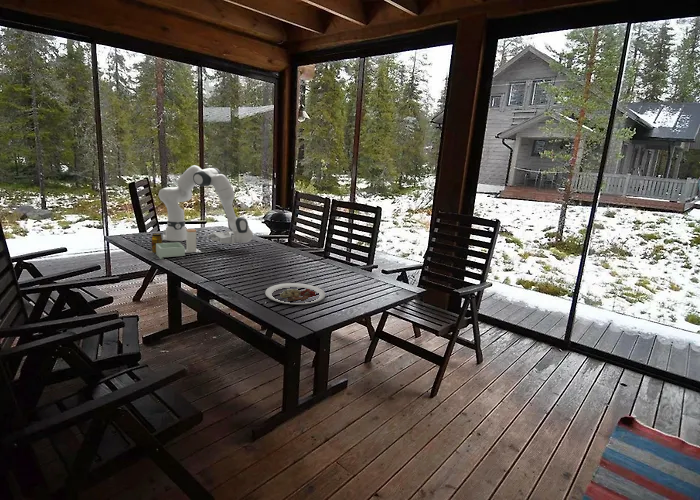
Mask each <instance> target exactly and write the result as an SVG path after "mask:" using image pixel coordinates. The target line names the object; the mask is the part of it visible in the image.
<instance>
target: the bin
mask: <svg viewBox="0 0 700 500" xmlns="http://www.w3.org/2000/svg"><path fill="white" fill-rule="evenodd" d="M185 249H186V247H185V246H184V245H183V244H182V243H181V241H175V242H162V243H156V253H155V255H156V256H157V257H158V258H159V260H164V258H169V257H170V258H171V257H183V256H184V257H185V256H186V253H185Z"/></svg>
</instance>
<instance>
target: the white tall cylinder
mask: <svg viewBox="0 0 700 500" xmlns="http://www.w3.org/2000/svg"><path fill="white" fill-rule="evenodd" d="M185 241H186V242H185V243H186V247H185V249H186V250H187V251H188V252H191V251H196V248H197V230H196V229H195V228H187V229H186V240H185ZM191 253H192V252H191Z"/></svg>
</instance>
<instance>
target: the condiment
mask: <svg viewBox="0 0 700 500" xmlns="http://www.w3.org/2000/svg"><path fill="white" fill-rule="evenodd" d="M156 243H163V237H162V233H158V232H157V233H152V237H151V251H150V253H152V254H156Z"/></svg>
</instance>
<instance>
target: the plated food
mask: <svg viewBox="0 0 700 500" xmlns="http://www.w3.org/2000/svg"><path fill="white" fill-rule="evenodd" d="M290 287H297V288H305V289H306V288H307V289H306V290H302V291H300V290H298V289H287V290H285V291H283V292H282V293H279V294H280V297H282V298H288V299H287V301H296V300H301V301H304V300H306V299H308V297H312V296H317V295H316V294H315V293H316V292H317V293H319V295H320V296H319V298H318V299H316V300H314V301H311V302H305V303H290V302H284V301H280V300H278V299H275V298H274V297H273V296H272V293H273V292H274V291H276V290H278V289H282V288H290ZM310 289H311V290H314V291H311V290H310ZM315 291H316V292H315ZM264 293H265V295H266V297H267V298H268V299H270V300H271V301H275V302H278V303H282V304H286V305H287V304H289V305H308V304H314V303H315V304H316V303H318V302H320V301H323V300H324V299H325V297H326V292H325V291H324V290H323V289H322V288H320V287H317V286H315V285H311V284H305V283H299V282H297V283H296V282H286V283H279V284H275V285H271V286H269V287H267V289H266V290H265V292H264ZM299 296H303V297H299Z"/></svg>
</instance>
